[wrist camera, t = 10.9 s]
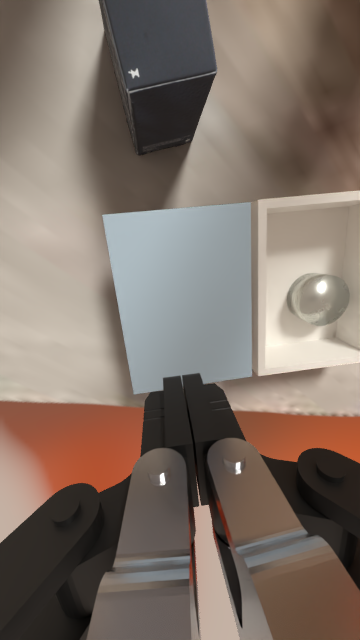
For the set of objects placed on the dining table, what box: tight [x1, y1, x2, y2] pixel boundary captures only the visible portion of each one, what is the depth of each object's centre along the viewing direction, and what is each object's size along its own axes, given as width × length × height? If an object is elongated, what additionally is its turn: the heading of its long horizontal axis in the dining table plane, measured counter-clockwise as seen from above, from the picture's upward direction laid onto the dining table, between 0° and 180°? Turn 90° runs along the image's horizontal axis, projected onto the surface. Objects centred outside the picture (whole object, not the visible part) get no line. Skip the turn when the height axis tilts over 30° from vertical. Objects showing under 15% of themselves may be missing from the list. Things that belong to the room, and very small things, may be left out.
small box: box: [99, 0, 217, 155], centre depth 19 cm, size 11×6×10 cm, turn 14°
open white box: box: [251, 190, 360, 376], centre depth 28 cm, size 14×18×6 cm
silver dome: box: [287, 273, 350, 326], centre depth 29 cm, size 6×6×3 cm
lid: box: [102, 202, 252, 394], centre depth 24 cm, size 13×18×1 cm
